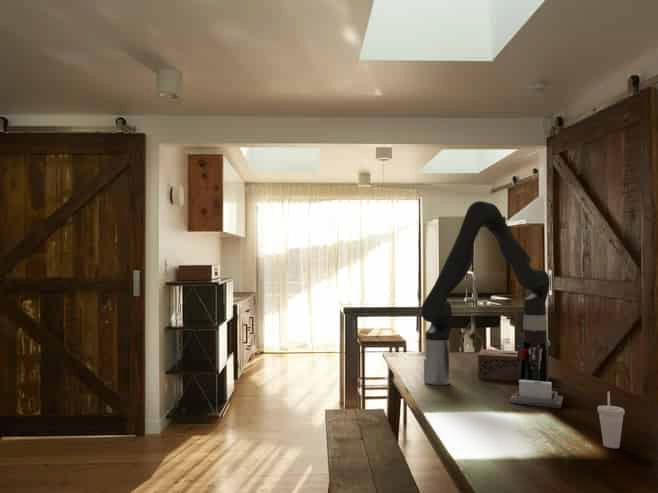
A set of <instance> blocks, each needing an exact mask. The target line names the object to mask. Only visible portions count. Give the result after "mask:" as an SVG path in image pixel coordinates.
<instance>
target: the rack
mask: <svg viewBox="0 0 658 493" xmlns="http://www.w3.org/2000/svg"><path fill="white" fill-rule="evenodd" d="M563 401H564V396H563V395H559V393H558V391H556V390H552V400H550V399H540V398H530V397H520V396H519V389H517V391H516V390H515V391H514V392H513V393H512V395H511V396H510V398H509V404H514V403H517V405H523V404H527V405H526V406H533V405H536V406H535V407H542V406H544V407H545V408H554V409H562V405H563Z"/></svg>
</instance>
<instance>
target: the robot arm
mask: <svg viewBox="0 0 658 493" xmlns="http://www.w3.org/2000/svg"><path fill="white" fill-rule="evenodd" d="M481 228H486V229H487V230H489V232H490V233H491V234H492V235H493V237H495V239H496V241H497V244H498V248H499V251H500V254H502V257H503V258H504V259H505V261H506V262H507V263H508V264H509V265H510V266H511V268H512V271H513V273H514V276H515V278H516V280H517V283H518V284H519V285H520V286H521V287H522V288H523V289H525V290H527V291H529V296H527V297H525V299H524V300H523V319H522V320H523V321H522V324H523V325H522V327H523V330H522V331H523V340H524V342H527V343H531V347H529V354H530V355H529V357H530V364H531V365H530V366H531V368H532V379H533V380H539V368H540V364H541V363H540V361H541V353H542V348H540V343H546V342H547V340H548V328H547V327H548V323H547V322H548V321H547V314H546V312H547V310H546V309H547V308H546V307H547V306H546V302H547V299H548V294H549V291H550V290H549V289H550V285H551V284H550V282H551V281H550V277H549V274H548V272H547V271H546V270H545V269H540V268H536V269H535V268H534V269H533V268H532V267H531V266H530V264H531V262H532V260H531V257H530V255H529V254H528V253H527V251H526V250H525V249H524V247H522V245H521V244H520V242H519V241H518V240H517V238H516V237H515V236H514V234H513V233H512V231H511V229H510V227H509V225H508V224H507V222H506V220H505V219H504V216H503V215H502V212H501V211H500V209H499V208H498V206H497V205H495V204H493V203H491V202H488V201H487V202H486V201H481V200H477V201H473V203H471V204H470V205H469V207H468V209H467V211H466V213H465V216H464V218H463V221H462V224H461V227H460V229H459V232H458V233H457V234H458V235H457V237H456V238H455V241H454V244H453V246H452V248H451V249H450V252H449V253H448V256H447V258H446V260H445V262H444V264H443V267H442V269H441V270H440V272H439V274H438V276H437V279H436V281H435V283H434V285H433V286H432V289H431V290H430V292H429V293H428V294H427V296H426V298H425V299H424V301H423V302H422V303H423V304H422V306H421V311H420V312H421V317H422V318H423V320H424V321H426V322H428V323H430V326H429V328H428V329H427V330H426V331H425V333H424V334H425V342H424V343H425V345H424V346H425V357H424V358H423V383H424V384H429V385H433V386H445V385H446V386H447V385H448V384H450V334H451V332H452V321H453V320H452V319H453V318H452V316H453V312H452V311H453V309H452V306H451V304H450V302H449V300H448V298H449V296H450V294H451V293H452V292H453V291H454V290H455V289H456V288H457V287H458V286H459V284H460V283H462V281H463V280H464V279H465V278H466V276H467V274H468V273H469V270H470V269H471V266H472V264H473V262H474V255H475V254H474V253H475V251H474V248H475V241H476V238H477V236H478V235H479V234H478V233H479V232H480V230H481Z"/></svg>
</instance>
